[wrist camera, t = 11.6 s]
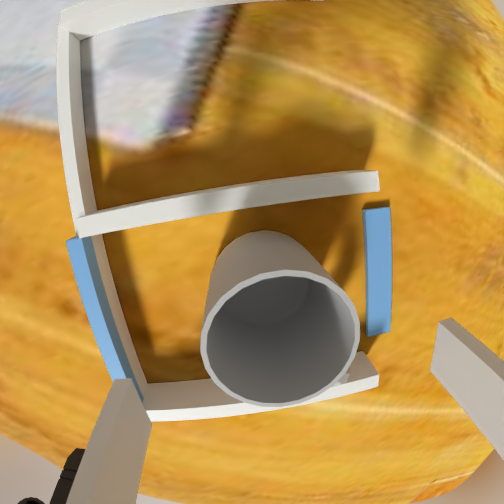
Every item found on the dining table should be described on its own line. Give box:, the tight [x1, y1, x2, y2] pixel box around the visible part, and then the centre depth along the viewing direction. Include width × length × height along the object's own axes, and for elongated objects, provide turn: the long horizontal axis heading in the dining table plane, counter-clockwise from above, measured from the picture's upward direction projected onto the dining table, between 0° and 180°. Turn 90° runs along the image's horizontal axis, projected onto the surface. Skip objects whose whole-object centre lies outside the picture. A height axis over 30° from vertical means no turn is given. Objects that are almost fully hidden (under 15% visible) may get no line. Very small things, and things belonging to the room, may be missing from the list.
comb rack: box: [56, 0, 392, 421], centre depth 19 cm, size 30×21×4 cm
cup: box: [200, 230, 360, 407], centre depth 18 cm, size 7×10×9 cm
